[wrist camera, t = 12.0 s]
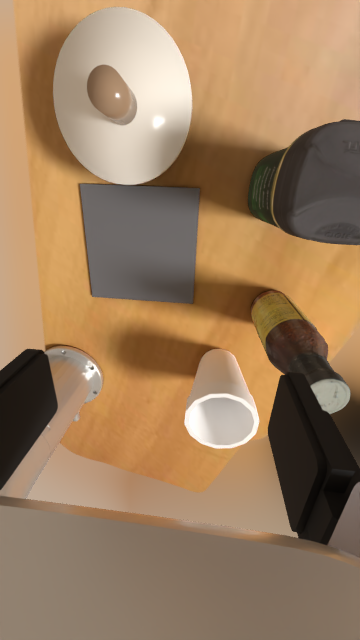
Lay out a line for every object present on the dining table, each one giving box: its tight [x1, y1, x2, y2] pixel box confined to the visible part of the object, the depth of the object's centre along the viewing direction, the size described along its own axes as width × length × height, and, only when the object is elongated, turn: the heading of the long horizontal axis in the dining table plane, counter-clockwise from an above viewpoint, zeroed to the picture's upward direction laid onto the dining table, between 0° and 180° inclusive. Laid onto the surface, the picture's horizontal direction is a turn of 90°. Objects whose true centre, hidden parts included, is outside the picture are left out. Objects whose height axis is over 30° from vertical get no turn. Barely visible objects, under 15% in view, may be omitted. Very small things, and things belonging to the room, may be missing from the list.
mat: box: [80, 184, 200, 304], centre depth 38 cm, size 16×16×1 cm
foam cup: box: [184, 349, 259, 448], centre depth 40 cm, size 10×9×13 cm
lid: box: [53, 7, 192, 185], centre depth 25 cm, size 14×14×6 cm
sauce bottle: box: [251, 291, 350, 414], centre depth 32 cm, size 6×6×20 cm
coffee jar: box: [248, 119, 360, 245], centre depth 25 cm, size 10×8×19 cm
